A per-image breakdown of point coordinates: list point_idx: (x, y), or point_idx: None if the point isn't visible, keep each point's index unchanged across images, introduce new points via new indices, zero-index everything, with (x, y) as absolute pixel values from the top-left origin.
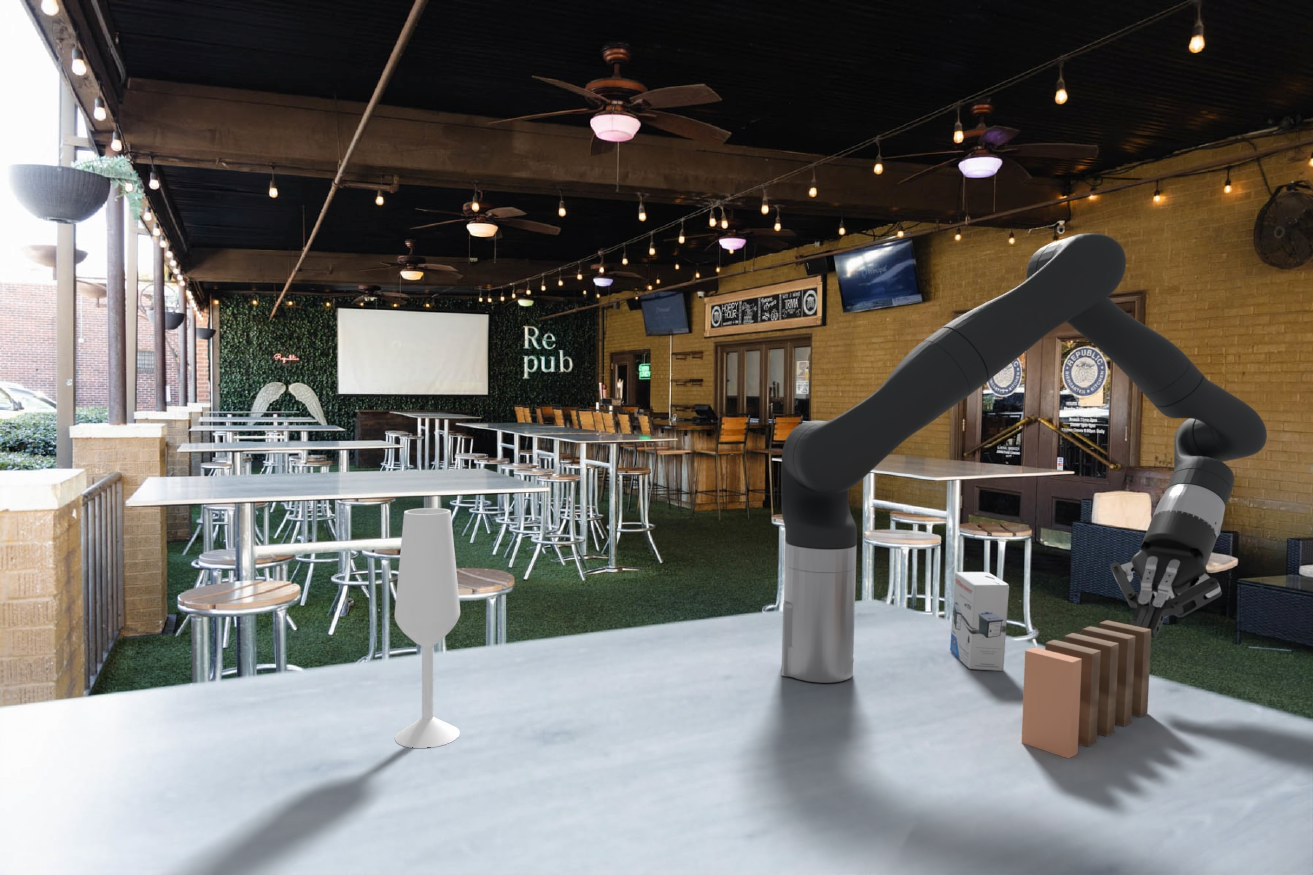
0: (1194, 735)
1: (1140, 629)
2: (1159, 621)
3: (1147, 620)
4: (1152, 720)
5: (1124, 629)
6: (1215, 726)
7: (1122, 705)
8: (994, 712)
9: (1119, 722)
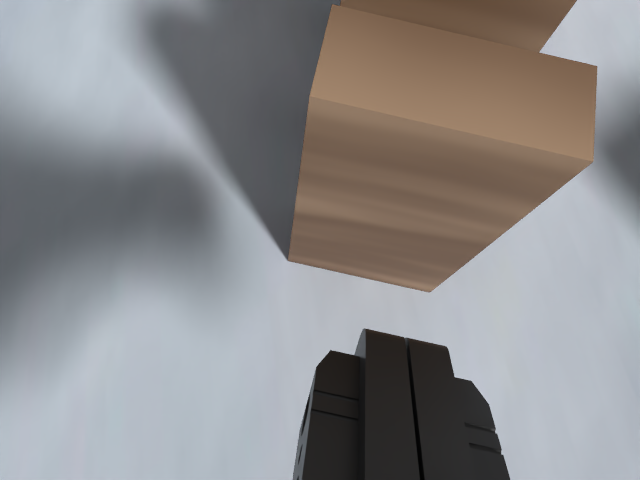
0: (144, 149)
1: (364, 54)
2: (303, 449)
3: (383, 383)
4: (265, 203)
5: (444, 37)
6: (84, 273)
7: None
8: (615, 10)
9: None
